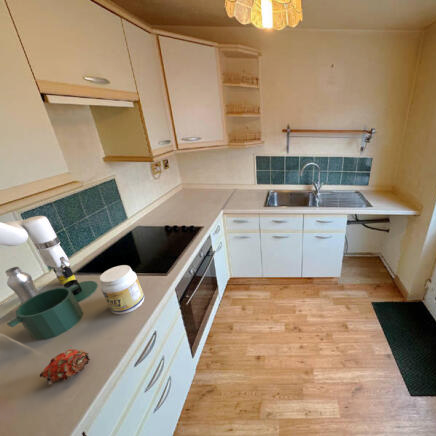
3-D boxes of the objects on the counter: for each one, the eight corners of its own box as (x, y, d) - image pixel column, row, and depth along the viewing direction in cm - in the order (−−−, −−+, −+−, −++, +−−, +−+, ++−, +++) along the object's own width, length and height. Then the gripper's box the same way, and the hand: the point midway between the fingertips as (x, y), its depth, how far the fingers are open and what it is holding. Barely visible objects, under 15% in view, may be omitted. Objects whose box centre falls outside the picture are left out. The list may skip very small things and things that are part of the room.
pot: (14, 340, 83) (-5, 317, 78) (76, 301, 100) (63, 279, 95) (38, 352, 79) (20, 328, 73) (99, 309, 96) (87, 287, 91)
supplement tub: (104, 314, 93) (87, 282, 86) (126, 293, 104) (113, 262, 97) (131, 316, 92) (117, 284, 84) (151, 295, 103) (140, 264, 95)
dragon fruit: (98, 368, 75) (54, 388, 71) (96, 342, 78) (53, 359, 74) (80, 371, 67) (30, 394, 64) (78, 342, 71) (30, 361, 67)
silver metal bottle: (21, 313, 94) (-7, 275, 86) (37, 301, 100) (12, 264, 92) (37, 313, 94) (11, 274, 86) (52, 301, 100) (29, 264, 92)
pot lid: (44, 302, 100) (37, 291, 97) (84, 279, 113) (78, 269, 110) (68, 311, 95) (60, 299, 92) (106, 286, 108) (100, 275, 106)
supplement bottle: (59, 287, 108) (49, 270, 104) (68, 279, 113) (59, 263, 109) (71, 286, 109) (61, 270, 105) (79, 279, 114) (71, 262, 109)
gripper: (24, 244, 101) (44, 276, 108) (49, 250, 95) (68, 284, 103) (45, 236, 107) (63, 267, 115) (69, 241, 102) (86, 274, 110)
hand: (65, 275), depth 109 cm, fingers closed on supplement bottle, 5 cm apart
